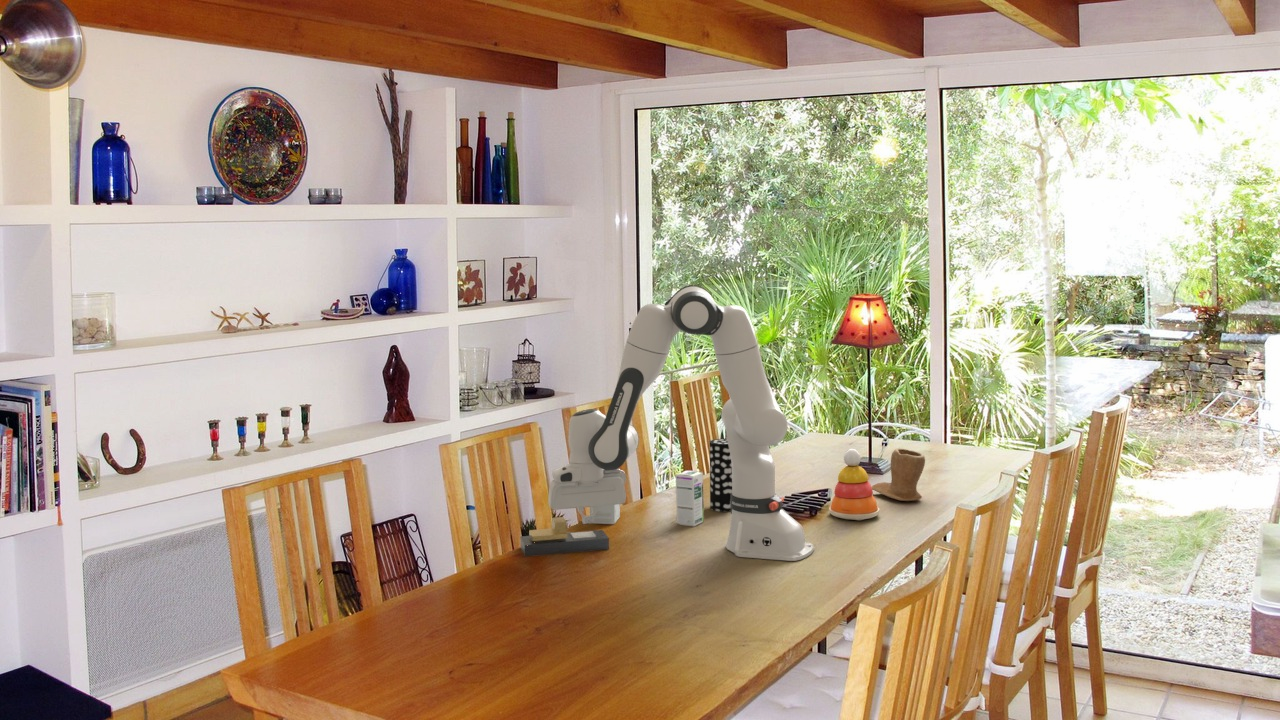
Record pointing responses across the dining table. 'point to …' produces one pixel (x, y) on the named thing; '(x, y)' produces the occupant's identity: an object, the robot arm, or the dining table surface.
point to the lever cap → (551, 531)
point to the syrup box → (689, 498)
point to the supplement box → (607, 514)
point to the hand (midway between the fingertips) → (588, 522)
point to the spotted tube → (720, 475)
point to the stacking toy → (853, 491)
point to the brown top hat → (903, 476)
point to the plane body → (566, 543)
